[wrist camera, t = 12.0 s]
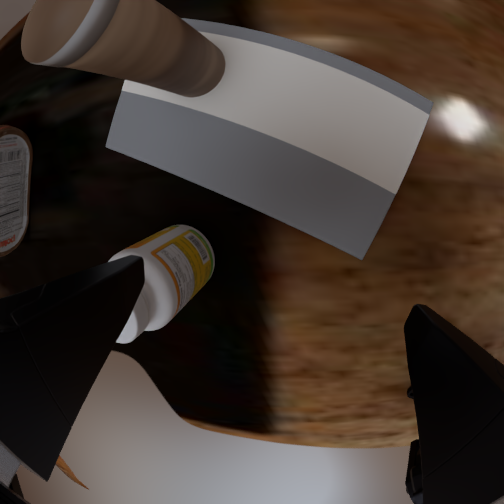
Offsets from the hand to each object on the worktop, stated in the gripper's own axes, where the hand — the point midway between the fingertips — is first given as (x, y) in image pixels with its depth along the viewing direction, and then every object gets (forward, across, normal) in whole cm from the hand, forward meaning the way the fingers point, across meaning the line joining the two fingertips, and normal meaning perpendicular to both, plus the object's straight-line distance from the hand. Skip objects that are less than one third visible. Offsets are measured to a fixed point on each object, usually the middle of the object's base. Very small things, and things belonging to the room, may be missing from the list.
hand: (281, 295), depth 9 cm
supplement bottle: (+13, +7, +6) cm, 16 cm away
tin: (+17, +30, +4) cm, 34 cm away
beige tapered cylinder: (+13, +8, -8) cm, 17 cm away
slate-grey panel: (+13, +3, -5) cm, 14 cm away
